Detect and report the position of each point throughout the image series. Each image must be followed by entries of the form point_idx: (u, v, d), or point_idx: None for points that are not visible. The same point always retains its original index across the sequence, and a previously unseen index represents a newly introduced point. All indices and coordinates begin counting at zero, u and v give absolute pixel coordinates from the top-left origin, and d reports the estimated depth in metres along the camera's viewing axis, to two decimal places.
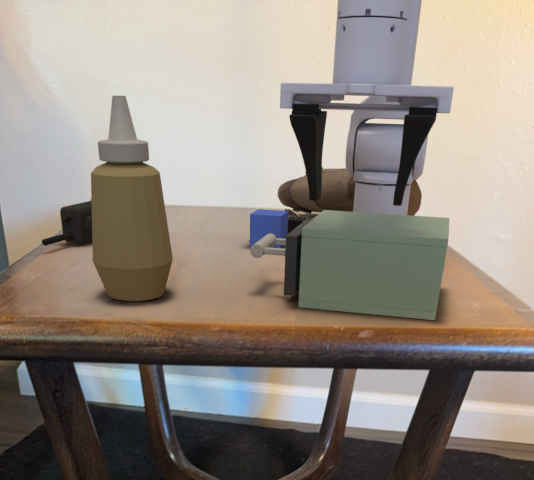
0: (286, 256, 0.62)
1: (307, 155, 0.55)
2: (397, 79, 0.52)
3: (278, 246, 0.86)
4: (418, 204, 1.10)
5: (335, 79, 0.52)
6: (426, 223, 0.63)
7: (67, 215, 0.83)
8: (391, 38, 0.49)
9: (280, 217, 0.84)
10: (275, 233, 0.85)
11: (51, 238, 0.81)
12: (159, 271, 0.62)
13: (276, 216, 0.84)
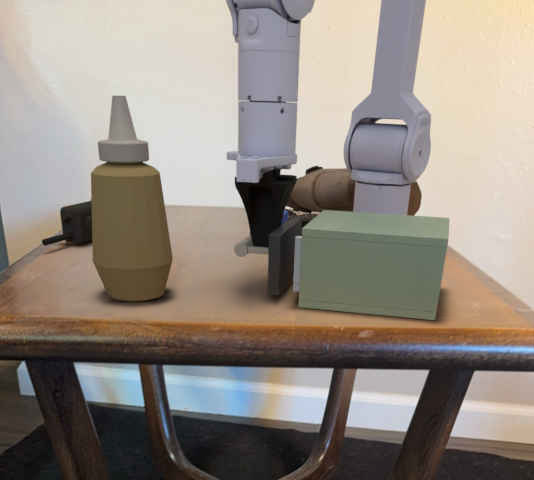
0: (269, 255, 0.62)
1: None
2: (250, 150, 0.60)
3: None
4: (418, 204, 1.10)
5: None
6: (426, 223, 0.63)
7: (67, 215, 0.83)
8: (241, 117, 0.59)
9: None
10: None
11: (51, 238, 0.81)
12: (159, 271, 0.62)
13: None
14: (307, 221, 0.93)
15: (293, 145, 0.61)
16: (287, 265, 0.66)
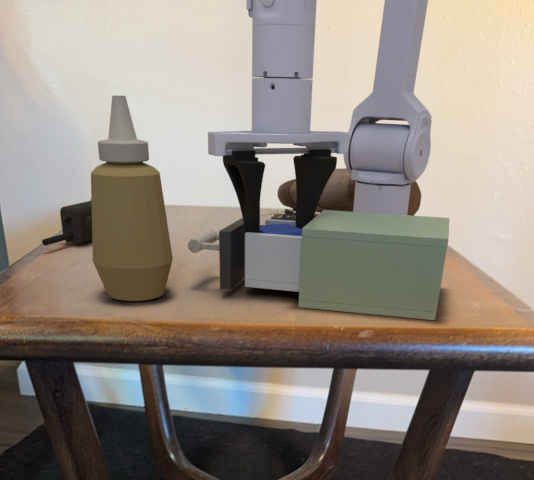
0: (220, 251, 0.63)
1: None
2: (252, 126, 0.61)
3: None
4: (418, 204, 1.10)
5: None
6: (426, 223, 0.63)
7: (67, 215, 0.83)
8: None
9: None
10: None
11: (51, 238, 0.81)
12: (159, 271, 0.62)
13: (300, 232, 0.65)
14: None
15: (289, 123, 0.58)
16: (240, 261, 0.67)
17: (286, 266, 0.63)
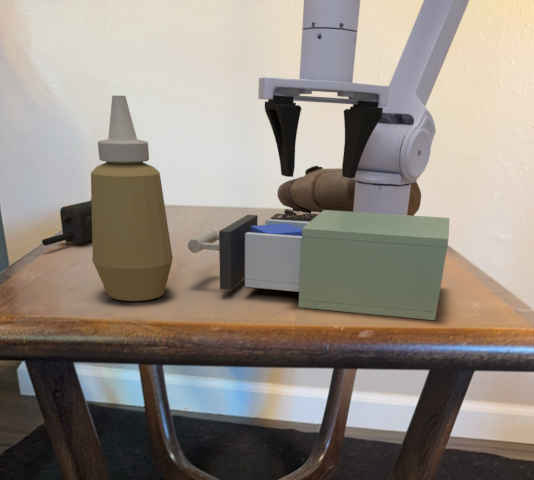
0: (220, 251, 0.63)
1: None
2: None
3: None
4: (418, 204, 1.10)
5: None
6: (426, 223, 0.63)
7: (67, 215, 0.83)
8: None
9: None
10: None
11: (51, 238, 0.81)
12: (159, 271, 0.62)
13: (300, 232, 0.65)
14: (307, 221, 0.93)
15: (333, 71, 0.64)
16: (240, 261, 0.67)
17: (286, 266, 0.63)
